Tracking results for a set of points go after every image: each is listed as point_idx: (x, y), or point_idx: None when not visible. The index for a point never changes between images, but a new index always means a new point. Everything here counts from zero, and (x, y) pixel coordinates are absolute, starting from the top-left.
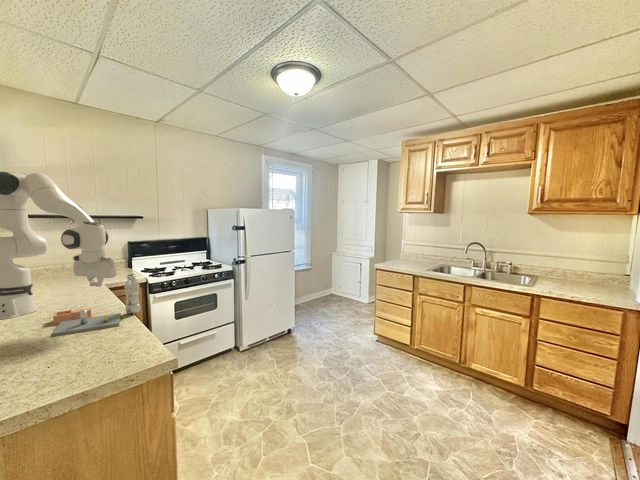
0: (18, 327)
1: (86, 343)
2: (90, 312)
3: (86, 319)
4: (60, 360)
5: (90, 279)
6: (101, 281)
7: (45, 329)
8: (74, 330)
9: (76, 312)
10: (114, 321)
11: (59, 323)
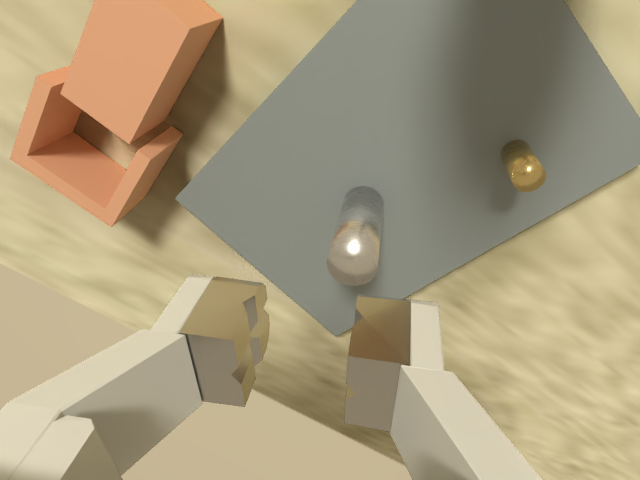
0: (31, 247)
1: (592, 364)
2: (199, 27)
3: (382, 219)
4: (595, 463)
5: (116, 446)
6: (470, 425)
7: (185, 252)
8: (408, 293)
9: (146, 115)
10: (587, 125)
11: (155, 179)
